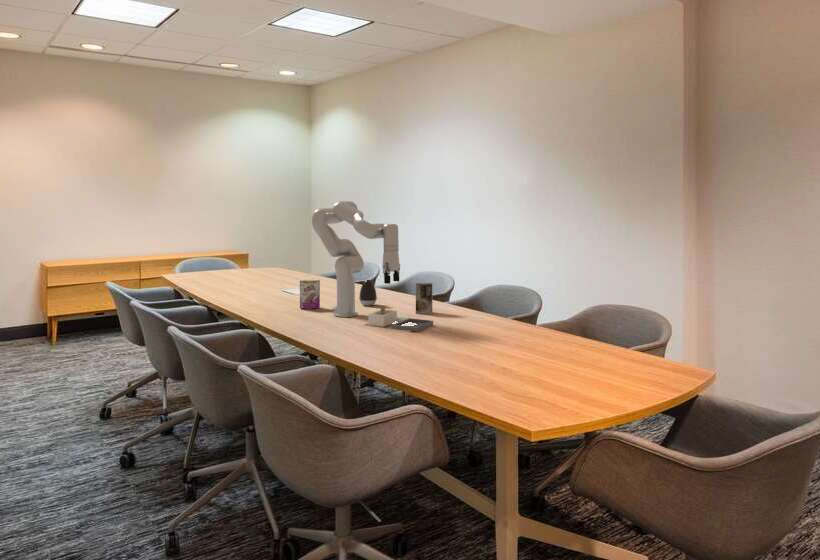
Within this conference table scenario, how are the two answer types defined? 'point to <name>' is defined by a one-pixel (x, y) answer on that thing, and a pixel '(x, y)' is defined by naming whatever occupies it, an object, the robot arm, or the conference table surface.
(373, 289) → the dark vase
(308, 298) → the candy bar box
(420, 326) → the tray
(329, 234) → the robot arm
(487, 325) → the conference table surface
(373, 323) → the collar
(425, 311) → the coffee box
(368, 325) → the stake stand
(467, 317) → the conference table surface
